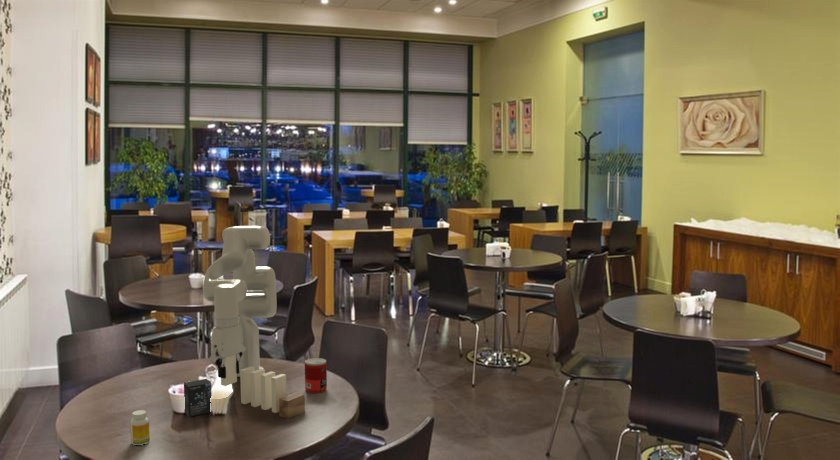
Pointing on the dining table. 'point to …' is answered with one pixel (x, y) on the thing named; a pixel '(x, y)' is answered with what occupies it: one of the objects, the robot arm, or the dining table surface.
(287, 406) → the end block
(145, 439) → the supplement bottle
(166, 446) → the dining table surface
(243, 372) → the domino
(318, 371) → the canned food
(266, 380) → the domino
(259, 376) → the domino
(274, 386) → the domino
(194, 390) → the box
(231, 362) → the domino
